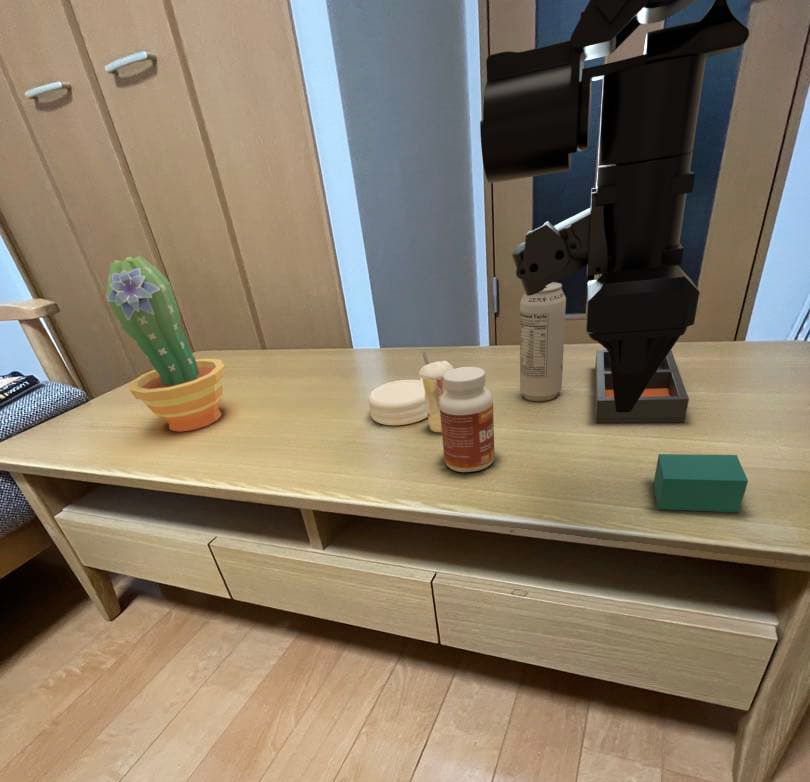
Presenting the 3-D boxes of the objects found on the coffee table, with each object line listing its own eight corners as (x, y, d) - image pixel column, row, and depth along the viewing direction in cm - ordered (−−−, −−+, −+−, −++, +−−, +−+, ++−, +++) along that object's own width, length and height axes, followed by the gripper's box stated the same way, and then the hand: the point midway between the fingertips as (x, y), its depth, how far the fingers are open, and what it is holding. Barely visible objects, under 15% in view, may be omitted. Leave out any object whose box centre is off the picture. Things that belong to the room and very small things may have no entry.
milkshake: (444, 416, 76) (438, 347, 70) (463, 428, 72) (458, 355, 66) (417, 425, 75) (408, 355, 69) (435, 437, 70) (427, 365, 65)
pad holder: (594, 369, 83) (596, 350, 81) (666, 367, 80) (670, 346, 78) (595, 423, 68) (597, 400, 66) (684, 422, 65) (689, 398, 63)
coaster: (357, 419, 79) (353, 397, 77) (401, 396, 85) (398, 374, 83) (405, 432, 73) (401, 408, 71) (449, 406, 79) (447, 383, 77)
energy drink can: (570, 394, 76) (576, 284, 67) (536, 406, 74) (539, 294, 66) (543, 384, 81) (546, 279, 72) (512, 394, 79) (511, 288, 70)
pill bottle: (490, 475, 61) (486, 383, 54) (439, 473, 63) (429, 384, 56) (498, 450, 65) (496, 363, 59) (451, 449, 67) (443, 364, 61)
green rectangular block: (728, 485, 53) (736, 454, 51) (738, 512, 49) (748, 480, 47) (653, 483, 55) (658, 453, 53) (657, 509, 51) (663, 478, 49)
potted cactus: (129, 438, 86) (47, 272, 71) (189, 401, 97) (129, 251, 82) (202, 442, 80) (131, 263, 65) (257, 402, 91) (206, 242, 77)
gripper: (530, 171, 43) (530, 357, 53) (502, 191, 29) (509, 441, 38) (677, 147, 40) (650, 350, 49) (725, 156, 26) (675, 439, 35)
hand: (620, 389), depth 43 cm, fingers open, 9 cm apart
